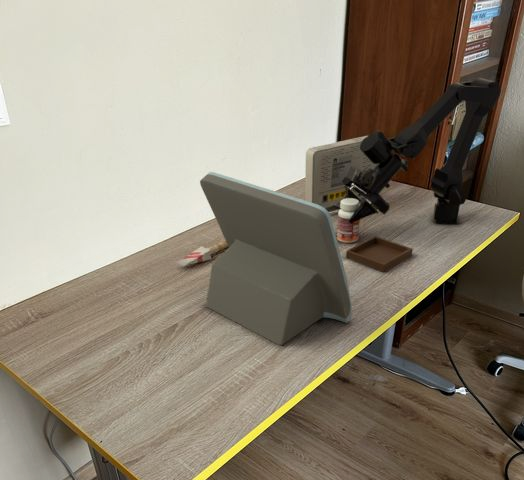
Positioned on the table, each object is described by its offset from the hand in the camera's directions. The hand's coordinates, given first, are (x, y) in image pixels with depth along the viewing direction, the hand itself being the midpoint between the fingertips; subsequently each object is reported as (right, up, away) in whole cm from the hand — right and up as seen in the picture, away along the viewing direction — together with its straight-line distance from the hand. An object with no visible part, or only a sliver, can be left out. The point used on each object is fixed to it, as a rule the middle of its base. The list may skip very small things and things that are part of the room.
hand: (344, 218), depth 157 cm
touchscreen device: (-21, -28, -26) cm, 43 cm away
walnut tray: (+8, -12, -6) cm, 16 cm away
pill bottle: (+1, -5, +4) cm, 7 cm away
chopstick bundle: (-39, -11, -2) cm, 40 cm away
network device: (+3, +10, +25) cm, 27 cm away
